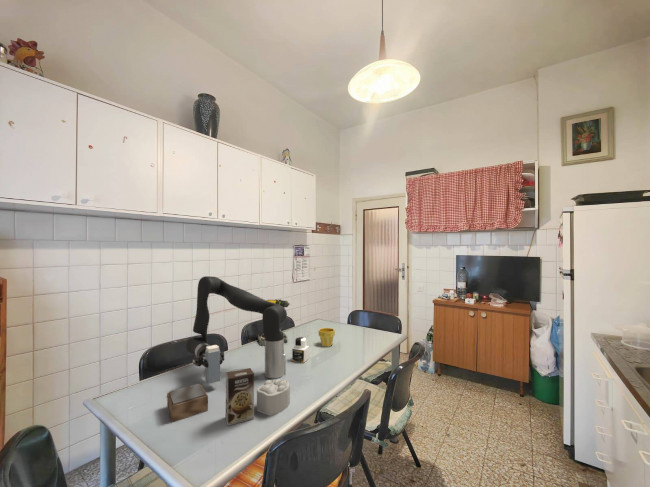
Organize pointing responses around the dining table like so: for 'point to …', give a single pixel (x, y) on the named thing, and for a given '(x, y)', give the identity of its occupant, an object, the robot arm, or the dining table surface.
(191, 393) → the stand
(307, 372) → the dining table surface
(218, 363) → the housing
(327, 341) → the plant pot
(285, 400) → the lumpy-topped squat cylinder
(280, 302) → the cordless drill
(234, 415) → the coffee box
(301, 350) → the medicine bottle
